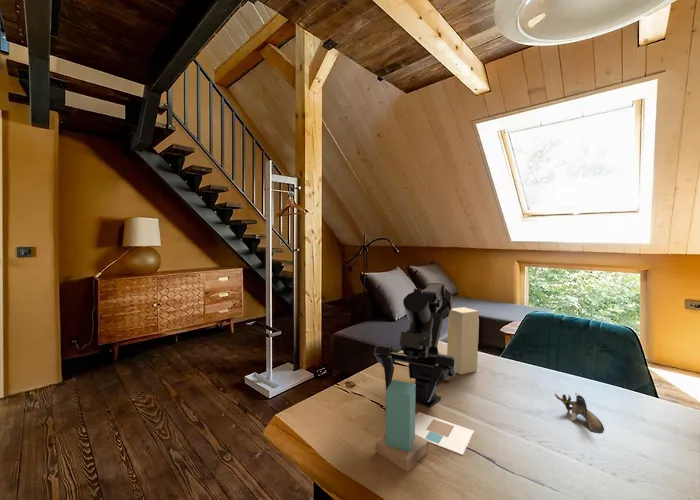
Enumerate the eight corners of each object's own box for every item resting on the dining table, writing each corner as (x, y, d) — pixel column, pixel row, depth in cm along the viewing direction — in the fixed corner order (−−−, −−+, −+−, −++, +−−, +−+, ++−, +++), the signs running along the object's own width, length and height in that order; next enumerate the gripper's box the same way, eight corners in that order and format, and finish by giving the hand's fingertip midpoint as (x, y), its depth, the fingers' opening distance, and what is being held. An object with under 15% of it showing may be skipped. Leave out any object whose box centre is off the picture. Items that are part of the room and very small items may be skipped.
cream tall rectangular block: (461, 363, 116) (463, 306, 115) (477, 371, 110) (479, 310, 109) (444, 367, 113) (446, 308, 112) (460, 375, 106) (462, 313, 105)
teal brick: (392, 431, 72) (393, 379, 71) (414, 437, 70) (415, 384, 69) (385, 445, 67) (386, 389, 66) (409, 451, 65) (410, 395, 64)
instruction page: (418, 412, 84) (418, 411, 84) (474, 431, 76) (474, 430, 76) (402, 431, 76) (402, 431, 76) (462, 455, 68) (462, 454, 68)
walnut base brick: (398, 437, 74) (398, 425, 74) (428, 454, 69) (428, 441, 68) (376, 454, 69) (376, 440, 68) (407, 474, 63) (407, 459, 63)
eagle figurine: (548, 408, 84) (581, 423, 75) (558, 382, 86) (592, 392, 76) (571, 423, 85) (607, 439, 76) (581, 397, 87) (617, 409, 77)
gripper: (376, 312, 79) (358, 374, 69) (455, 321, 71) (447, 392, 61) (386, 334, 86) (371, 392, 77) (458, 344, 78) (451, 411, 69)
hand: (407, 396), depth 71 cm, fingers open, 9 cm apart
